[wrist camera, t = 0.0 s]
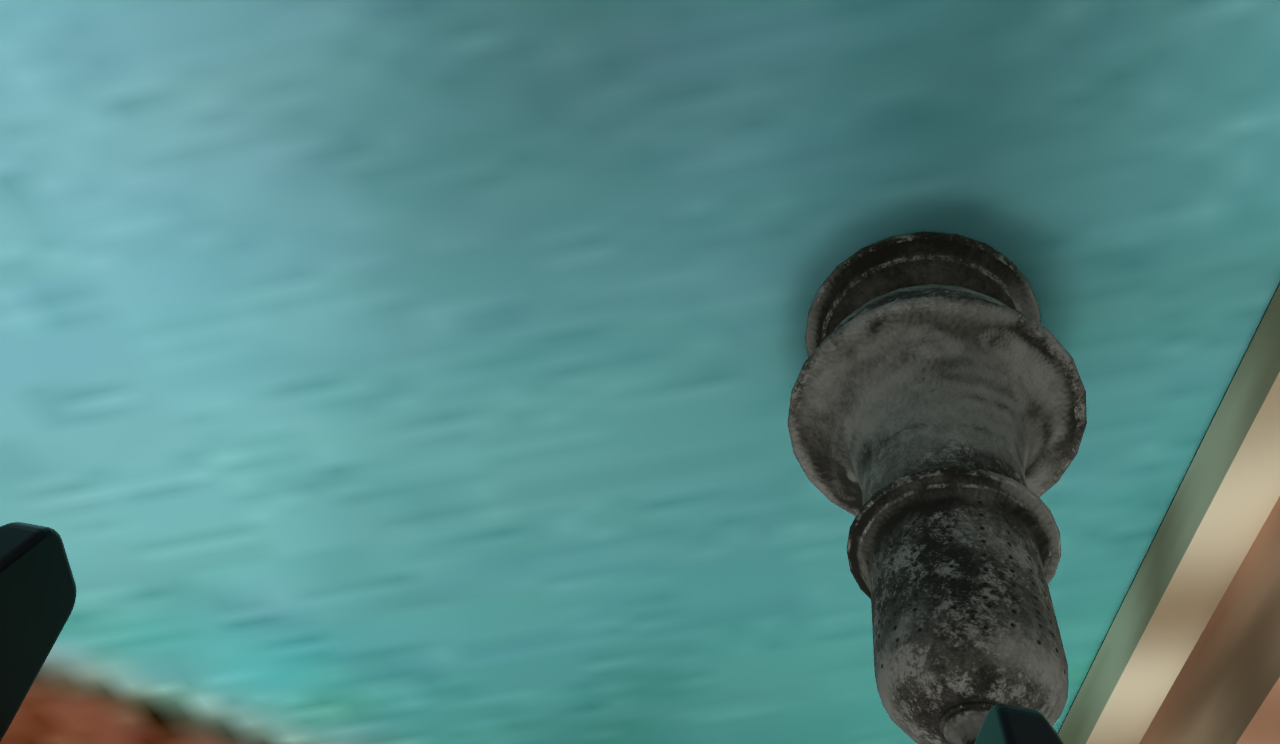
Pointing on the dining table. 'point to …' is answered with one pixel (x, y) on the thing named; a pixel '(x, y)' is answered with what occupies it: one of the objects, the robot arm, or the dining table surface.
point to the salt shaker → (944, 472)
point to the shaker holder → (1204, 590)
